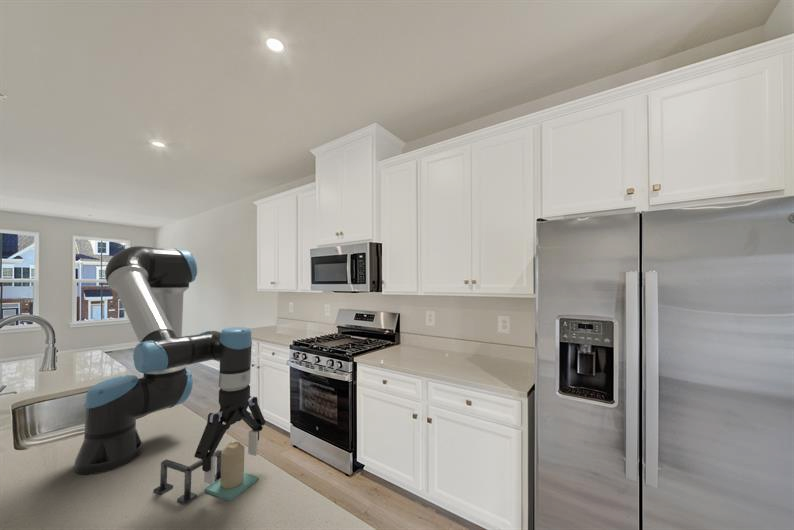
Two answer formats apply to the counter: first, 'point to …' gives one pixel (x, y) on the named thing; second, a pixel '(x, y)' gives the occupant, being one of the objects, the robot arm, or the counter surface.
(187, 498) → the handrail
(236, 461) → the candle
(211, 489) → the pad
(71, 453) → the counter surface
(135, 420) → the robot arm
